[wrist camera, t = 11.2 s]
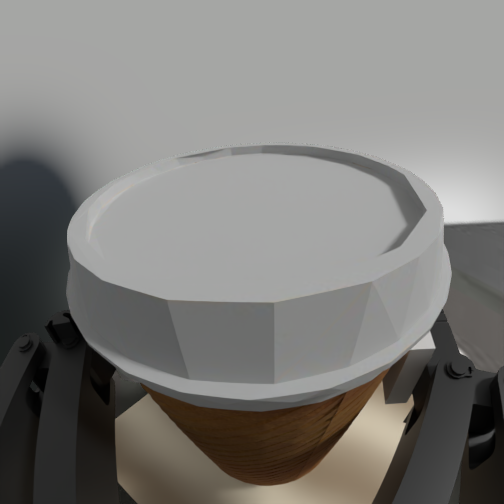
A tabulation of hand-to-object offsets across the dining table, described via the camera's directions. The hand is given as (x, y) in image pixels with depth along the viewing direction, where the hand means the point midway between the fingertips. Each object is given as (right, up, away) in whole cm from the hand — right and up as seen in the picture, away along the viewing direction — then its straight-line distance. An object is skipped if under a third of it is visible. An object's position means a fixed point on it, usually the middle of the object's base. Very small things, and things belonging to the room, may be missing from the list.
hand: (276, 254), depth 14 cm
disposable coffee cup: (0, -9, 0) cm, 9 cm away
